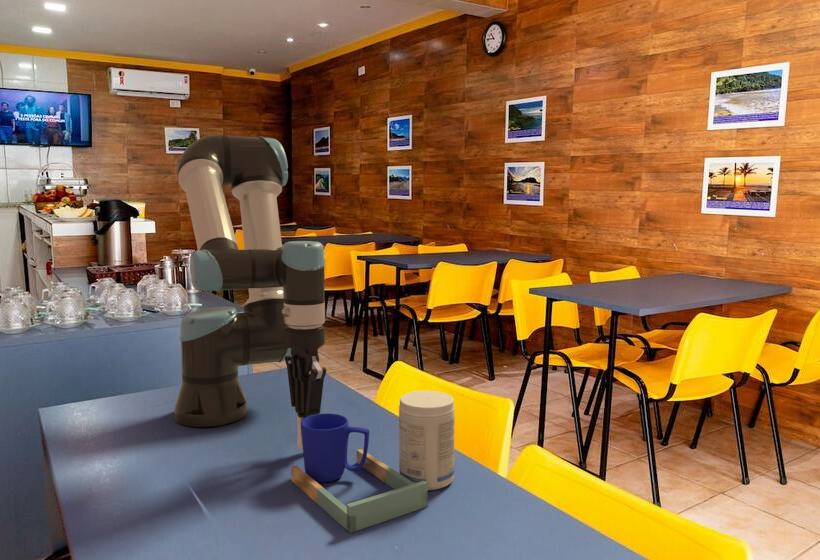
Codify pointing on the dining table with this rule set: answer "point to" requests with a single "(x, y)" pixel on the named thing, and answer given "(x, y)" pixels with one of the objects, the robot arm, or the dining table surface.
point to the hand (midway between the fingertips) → (305, 446)
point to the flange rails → (311, 487)
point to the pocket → (377, 503)
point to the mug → (328, 446)
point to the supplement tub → (427, 438)
